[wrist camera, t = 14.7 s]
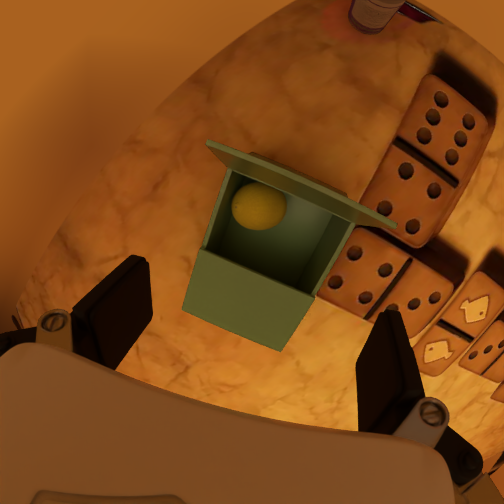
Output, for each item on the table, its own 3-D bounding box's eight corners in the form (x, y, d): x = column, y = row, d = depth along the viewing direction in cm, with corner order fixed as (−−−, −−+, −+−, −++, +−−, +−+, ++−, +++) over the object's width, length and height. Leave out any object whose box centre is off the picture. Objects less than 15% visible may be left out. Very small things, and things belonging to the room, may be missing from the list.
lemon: (307, 207, 34) (265, 210, 28) (278, 235, 38) (234, 244, 32) (281, 173, 36) (237, 170, 30) (256, 202, 39) (211, 204, 33)
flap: (226, 167, 26) (228, 163, 26) (357, 224, 26) (359, 220, 26) (204, 144, 17) (207, 138, 17) (395, 229, 17) (398, 223, 17)
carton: (251, 151, 36) (226, 165, 26) (346, 193, 35) (358, 223, 25) (210, 266, 44) (180, 310, 34) (290, 300, 44) (280, 352, 34)
